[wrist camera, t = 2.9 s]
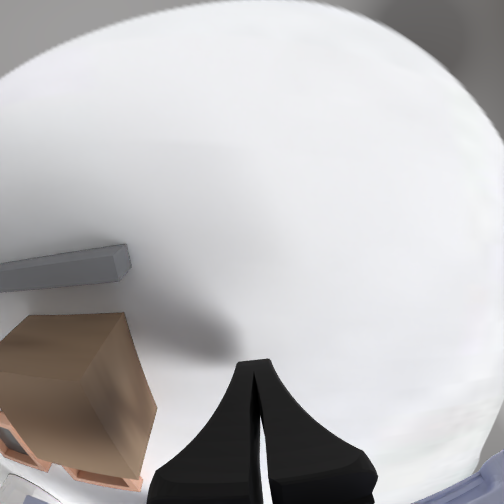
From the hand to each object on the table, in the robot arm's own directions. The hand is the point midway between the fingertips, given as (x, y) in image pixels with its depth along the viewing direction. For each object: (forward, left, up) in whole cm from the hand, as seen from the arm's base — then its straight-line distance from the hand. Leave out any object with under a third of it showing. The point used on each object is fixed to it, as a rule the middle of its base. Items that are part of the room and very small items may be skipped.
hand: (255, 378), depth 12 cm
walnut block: (0, +9, -2) cm, 9 cm away
